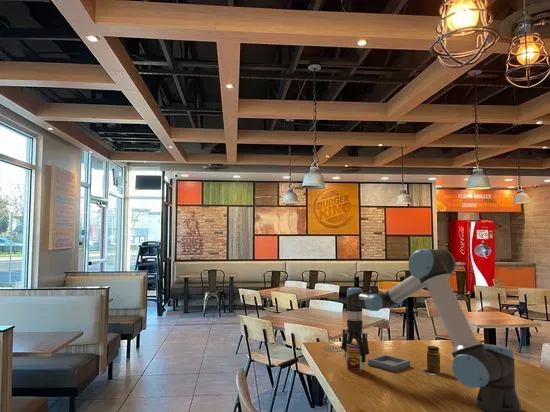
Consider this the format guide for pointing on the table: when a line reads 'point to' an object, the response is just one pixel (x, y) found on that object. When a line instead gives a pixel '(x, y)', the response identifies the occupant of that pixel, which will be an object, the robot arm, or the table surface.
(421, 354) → the table surface
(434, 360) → the condiment
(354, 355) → the canned food
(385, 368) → the holder
